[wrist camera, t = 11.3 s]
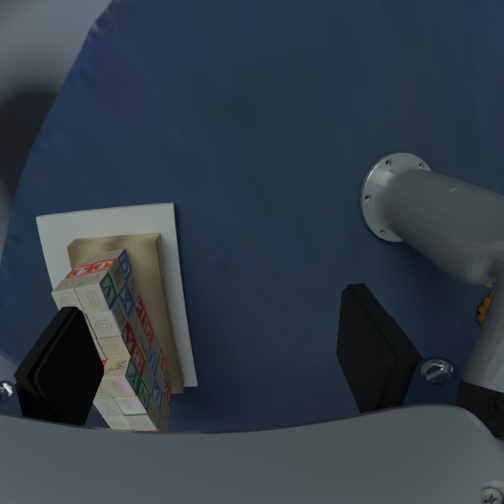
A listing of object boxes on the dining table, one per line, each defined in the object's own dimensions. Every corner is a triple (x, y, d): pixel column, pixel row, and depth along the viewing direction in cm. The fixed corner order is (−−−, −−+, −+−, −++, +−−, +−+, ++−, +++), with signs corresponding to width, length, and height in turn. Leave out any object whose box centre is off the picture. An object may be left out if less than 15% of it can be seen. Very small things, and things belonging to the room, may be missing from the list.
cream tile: (173, 202, 38) (173, 204, 38) (197, 382, 50) (197, 386, 49) (38, 215, 37) (36, 217, 36) (89, 380, 48) (88, 383, 47)
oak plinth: (160, 232, 39) (155, 240, 36) (184, 380, 48) (183, 393, 45) (75, 238, 38) (66, 246, 35) (115, 379, 47) (111, 391, 44)
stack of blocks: (82, 256, 36) (37, 307, 24) (125, 246, 36) (90, 298, 24) (136, 382, 44) (121, 445, 32) (174, 378, 44) (166, 444, 33)
